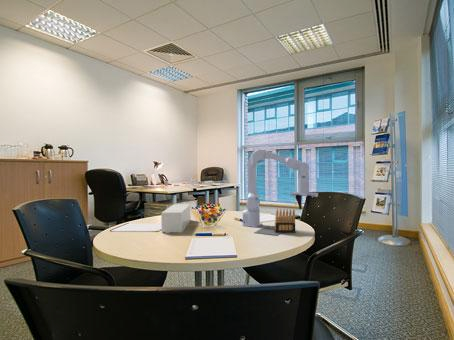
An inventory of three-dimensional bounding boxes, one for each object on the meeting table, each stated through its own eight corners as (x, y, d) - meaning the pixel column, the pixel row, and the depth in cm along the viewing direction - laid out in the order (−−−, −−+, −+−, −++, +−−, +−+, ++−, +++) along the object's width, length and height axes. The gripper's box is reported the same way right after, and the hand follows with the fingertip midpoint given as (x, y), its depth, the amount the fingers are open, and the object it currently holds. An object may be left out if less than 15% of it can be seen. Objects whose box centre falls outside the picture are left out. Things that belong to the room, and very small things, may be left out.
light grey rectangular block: (174, 220, 167) (173, 204, 167) (190, 220, 167) (190, 203, 167) (161, 233, 135) (161, 212, 135) (182, 232, 135) (181, 212, 135)
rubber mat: (254, 233, 133) (254, 232, 133) (265, 226, 147) (265, 226, 147) (276, 235, 127) (276, 235, 127) (286, 228, 141) (286, 228, 141)
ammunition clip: (275, 232, 132) (276, 209, 131) (274, 231, 133) (275, 208, 133) (295, 232, 133) (296, 209, 132) (294, 231, 135) (295, 208, 134)
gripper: (288, 184, 142) (288, 209, 142) (316, 185, 135) (316, 211, 135) (292, 183, 148) (292, 207, 148) (318, 184, 141) (318, 209, 141)
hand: (303, 209), depth 142 cm, fingers open, 3 cm apart
